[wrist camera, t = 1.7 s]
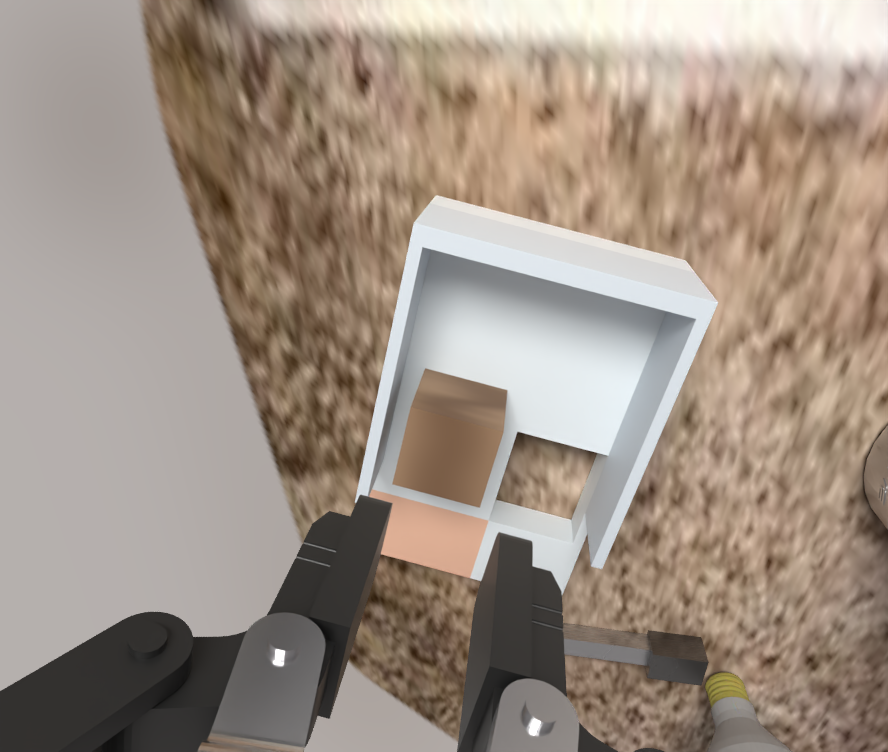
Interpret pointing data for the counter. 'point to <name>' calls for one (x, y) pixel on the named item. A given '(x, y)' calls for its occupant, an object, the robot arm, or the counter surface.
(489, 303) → the cubby
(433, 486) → the walnut cube
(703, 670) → the hook tool
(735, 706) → the light bulb
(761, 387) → the counter surface
